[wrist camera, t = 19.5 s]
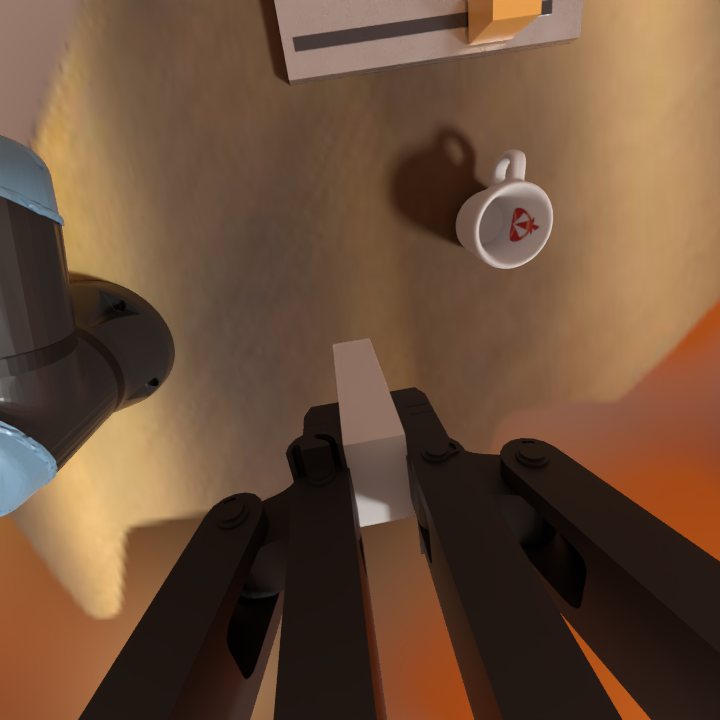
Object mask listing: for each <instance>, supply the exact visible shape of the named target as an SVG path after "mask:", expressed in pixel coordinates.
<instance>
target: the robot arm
mask: <svg viewBox="0 0 720 720" xmlns="http://www.w3.org/2000/svg"><path fill="white" fill-rule="evenodd" d="M63 225H64V220H63V218H62V217H61V216H60V215H59V212H58V208H57V203H56V198H55V193H54V188H53V183H52V178H51V174H50V172H49V169H48V167H47V166H46V164H45V163H44V162H43V160H42V159H41V158H40V157H39V156H38V155H37V154H36V153H34V152H33V151H32V150H31V149H29V148H28V147H26V146H24V145H23V144H21V143H19V142H16V141H14V140H12V139H9V138H7V137H4V136H1V135H0V517H1V516H4V515H6V514H8V513H10V512H11V511H13V510H15V509H16V508H18V507H19V506H20V505H22V504H23V503H24V502H25V501H26V500H27V499H28V498H30V497H31V496H32V495H33V494H34V493H35V492H36V491H37V490H38V489H39V488H41V487H43V486H44V485H46V484H48V483H49V482H51V481H52V480H53V478H54V477H55V476H56V473H57V472H58V471H59V470H60V469H61V468H62V467H63V466H64V465H65V463H66V462H67V461H68V460H69V459H70V458H71V457H72V456H73V455H74V454H75V453H76V452H77V451H78V450H79V449H80V447H81V446H82V445H83V444H84V443H85V442H86V441H87V440H88V439H89V438H90V437H91V436H92V435H93V434H94V432H95V431H96V430H97V429H98V428H99V427H100V426H101V425H102V424H103V423H104V422H105V421H106V420H107V419H108V418H109V417H110V415H111V414H112V413H114V412H117V411H119V410H122V409H124V408H126V407H129V406H131V405H134V404H136V403H139V402H141V401H143V400H145V399H146V398H148V397H149V396H151V395H152V394H153V393H154V392H155V391H156V390H157V389H158V388H159V387H160V386H161V385H162V384H163V382H164V381H165V380H166V379H167V377H168V376H169V374H170V372H171V370H172V367H173V363H174V356H175V350H174V343H173V339H172V336H171V333H170V331H169V328H168V326H167V325H166V323H165V321H164V320H163V318H162V317H161V316H160V314H159V313H158V312H157V311H156V310H155V309H154V308H153V307H152V306H151V305H150V304H149V303H148V302H147V301H145V300H144V299H143V298H141V297H140V296H138V295H137V294H135V293H133V292H132V291H130V290H128V289H126V288H123V287H121V286H118V285H115V284H112V283H108V282H103V281H95V280H82V281H75V282H71V283H70V281H69V274H68V267H67V260H66V253H65V246H64V239H63V232H62V226H63ZM333 351H334V361H335V370H336V380H337V390H338V400H339V402H337V403H332V404H326V405H321V406H315V407H311V408H310V409H309V411H308V412H307V414H306V415H305V417H304V429H303V435H302V436H300V437H299V438H297V439H295V440H294V441H293V442H292V443H291V444H290V445H289V447H288V449H287V452H286V456H287V459H288V463H289V466H290V469H291V473H292V476H293V480H294V483H293V484H292V485H291V486H290V487H288V488H287V489H286V490H285V491H283V492H281V493H279V494H277V495H275V496H273V497H271V498H268V499H266V500H264V501H261V499H260V498H259V497H258V496H256V495H255V494H251V493H239V494H234V495H232V496H229V497H227V498H225V499H223V500H222V501H220V502H219V503H217V504H216V505H215V506H213V507H212V509H211V510H210V511H209V512H208V513H207V515H206V516H205V517H204V519H203V521H202V522H201V524H200V525H199V527H198V529H197V530H196V532H195V533H194V535H193V537H192V538H191V540H190V542H189V543H188V545H187V546H186V548H185V549H184V551H183V553H182V554H181V556H180V557H179V559H178V561H177V562H176V564H175V566H174V567H173V569H172V570H171V572H170V573H169V575H168V577H167V578H166V580H165V582H164V583H163V585H162V586H161V588H160V590H159V591H158V593H157V594H156V596H155V598H154V599H153V601H152V602H151V604H150V606H149V607H148V609H147V610H146V612H145V614H144V615H143V617H142V618H141V620H140V622H139V623H138V625H137V626H136V628H135V630H134V631H133V633H132V634H131V636H130V638H129V639H128V641H127V642H126V644H125V646H124V647H123V649H122V650H121V652H120V654H119V655H118V657H117V658H116V660H115V662H114V663H113V665H112V667H111V668H110V670H109V671H108V673H107V674H106V676H105V678H104V679H103V681H102V682H101V684H100V686H99V687H98V689H97V690H96V692H95V694H94V695H93V697H92V698H91V700H90V702H89V703H88V705H87V706H86V708H85V710H84V711H83V713H82V714H81V716H80V718H79V719H78V720H250V718H251V715H252V712H253V708H254V705H255V702H256V699H257V695H258V692H259V689H260V685H261V682H262V679H263V675H264V672H265V669H266V665H267V662H268V659H269V655H270V652H271V649H272V646H273V642H274V639H275V636H276V633H277V629H278V625H279V623H280V619H281V616H282V626H281V638H280V651H279V661H278V675H277V685H276V697H275V709H274V720H387V715H386V708H385V700H384V693H383V685H382V678H381V671H380V663H379V656H378V648H377V641H376V633H375V626H374V618H373V611H372V604H371V596H370V590H369V581H368V575H367V567H366V560H365V552H364V545H363V540H362V535H361V529H360V527H362V526H367V525H373V524H378V523H383V522H387V521H392V520H398V519H403V518H408V517H413V516H414V510H415V513H416V516H417V521H418V529H419V538H420V547H421V554H425V556H426V559H427V562H428V566H429V569H430V572H431V576H432V579H433V582H434V586H435V589H436V593H437V596H438V599H439V603H440V606H441V609H442V613H443V616H444V619H445V623H446V626H447V629H448V632H449V636H450V639H451V643H452V646H453V649H454V653H455V656H456V659H457V663H458V666H459V670H460V673H461V676H462V679H463V683H464V686H465V690H466V693H467V696H468V700H469V703H470V706H471V710H472V713H473V716H474V720H622V718H621V716H620V715H619V713H618V711H617V710H616V708H615V706H614V705H613V703H612V701H611V699H610V698H609V696H608V694H607V692H606V691H605V689H604V687H603V686H602V684H601V682H600V681H599V679H598V677H597V676H596V674H595V672H594V670H593V668H592V667H591V665H590V663H589V662H588V660H587V658H586V657H585V655H584V653H583V651H582V650H581V648H580V646H579V645H578V643H577V641H576V640H575V638H574V636H573V634H572V633H571V631H570V629H569V627H568V626H567V624H566V622H565V621H564V619H563V617H562V615H563V616H564V618H565V619H566V620H567V621H568V622H569V623H570V625H571V626H572V627H573V628H574V629H575V631H576V632H577V633H578V634H579V635H580V636H581V638H582V639H583V640H584V641H585V642H586V643H587V644H588V646H589V647H590V648H591V649H592V651H593V652H594V653H595V654H596V655H597V656H598V658H599V659H600V660H601V661H602V662H603V664H604V665H605V666H606V667H607V668H608V669H609V671H610V672H611V673H612V674H613V675H614V676H615V678H616V679H617V680H618V681H619V682H620V683H621V685H622V686H623V687H624V688H625V689H626V690H627V692H628V693H629V694H630V695H631V696H632V698H633V699H634V700H635V701H636V702H637V703H638V705H639V706H640V707H641V708H642V709H643V711H644V712H646V714H647V715H648V716H649V718H650V719H651V720H720V561H718V560H717V559H715V558H714V557H713V556H711V555H710V554H708V553H707V552H705V551H704V550H702V549H701V548H700V547H698V546H697V545H695V544H694V543H692V542H691V541H690V540H688V539H687V538H685V537H684V536H682V535H681V534H679V533H678V532H677V531H675V530H674V529H672V528H671V527H669V526H668V525H667V524H665V523H664V522H662V521H661V520H659V519H658V518H656V517H655V516H653V515H652V514H651V513H649V512H648V511H646V510H645V509H643V508H642V507H640V506H639V505H638V504H636V503H635V502H633V501H632V500H631V499H629V498H628V497H626V496H625V495H623V494H622V493H620V492H619V491H618V490H616V489H615V488H613V487H612V486H610V485H609V484H608V483H606V482H605V481H603V480H602V479H600V478H599V477H597V476H596V475H595V474H593V473H592V472H590V471H589V470H587V469H586V468H584V467H583V466H581V465H580V464H579V463H577V462H576V461H574V460H573V459H571V458H570V457H569V456H567V455H566V454H564V453H563V452H561V451H560V450H559V449H557V448H556V447H554V446H552V445H550V444H548V443H546V442H544V441H540V440H536V439H529V438H528V439H527V438H520V439H516V440H511V441H509V442H508V443H506V444H505V445H504V446H503V448H502V450H501V451H500V453H501V454H500V455H492V454H478V453H472V452H468V451H465V449H464V448H463V447H462V446H461V445H460V443H459V442H457V441H455V440H453V439H451V438H449V436H448V435H447V433H446V431H445V429H444V427H443V426H442V424H441V422H440V420H439V418H438V417H437V415H436V413H435V412H434V409H433V408H432V406H431V404H430V402H429V400H428V398H427V397H426V395H425V393H423V392H421V391H420V390H418V389H417V388H415V387H413V388H408V389H402V390H397V391H391V392H389V389H388V387H387V384H386V381H385V379H384V376H383V373H382V371H381V368H380V365H379V363H378V360H377V357H376V355H375V352H374V349H373V346H372V344H371V341H370V338H367V339H361V340H356V341H350V342H344V343H339V344H333ZM282 613H283V614H282ZM560 613H561V614H562V615H561V614H560Z"/></svg>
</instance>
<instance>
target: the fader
mask: <svg viewBox="0 0 720 720" xmlns="http://www.w3.org/2000/svg"><path fill="white" fill-rule="evenodd" d="M541 6H542V0H468V17H469V45H476V44H482V43H489V42H496V41H503V40H509V39H512V38H513V37H514V36H515V35H516V34H518V33H519V32H520V31H521V30H522V29H524V28H525V27H526V26H527V25H528V24H529V23H531V22H532V21H533V20H534V19H535V18H537V17H538V16H539V15H540V14H541Z"/></svg>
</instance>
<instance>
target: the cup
mask: <svg viewBox="0 0 720 720" xmlns="http://www.w3.org/2000/svg"><path fill="white" fill-rule="evenodd" d="M509 163H510V168H509V172H508V174H507V176H506V178H505V172H506V168H507V166H508V164H509ZM525 167H526V158H525V155H524V153H523V152H522V151H520V150H507V151H505V152H503V153H502V154H501V155H500V156H499V157H498V159H497V160H496V162H495V165H494V168H493V172H492V178H491V184H490V186H489V188H488V189H486V190H483V191H481V192H478V193H476V194H475V195H473V196H471V197H470V198H469V199H468V200H467V201H466V202H465V203H464V204H463V206H462V207H461V209H460V210H459V213H458V215H457V219H456V234H457V237H458V239H459V241H460V243H461V244H462V246H463V247H464V248H465V249H467V250H468V251H469V252H471V253H472V254H474V255H475V256H477V257H478V258H480V259H481V260H483V261H484V262H486V263H487V264H489V265H491V266H493V267H496V268H503V269H508V268H514V267H518V266H521V265H523V264H525V263H526V262H528V261H530V260H531V259H532V258H534V257H535V256H536V255H537V254H538V253H539V252H540V250H541V249H542V248H543V246H544V245H545V243H546V241H547V239H548V237H549V235H550V232H551V228H552V223H553V211H552V206H551V203H550V200H549V198H548V196H547V195H546V193H545V192H544V191H543V190H542V189H541V188H540V187H538V186H537V185H535V184H533V183H530V182H526V181H525V180H524V175H525Z"/></svg>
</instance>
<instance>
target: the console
mask: <svg viewBox="0 0 720 720" xmlns="http://www.w3.org/2000/svg"><path fill="white" fill-rule="evenodd" d="M274 2H275V7H276V13H277V18H278V23H279V29H280V34H281V40H282V45H283V50H284V56H285V61H286V66H287V72H288V77H289V82H290V85H296V84H302V83H309V82H316V81H322V80H329V79H336V78H342V77H349V76H356V75H362V74H369V73H376V72H382V71H389V70H396V69H402V68H409V67H416V66H422V65H429V64H436V63H442V62H449V61H456V60H462V59H469V58H476V57H482V56H489V55H496V54H502V53H509V52H516V51H522V50H529V49H536V48H542V47H549V46H556V45H562V44H569V43H571V42H573V41H575V40H576V39H578V38H579V37H580V31H581V20H582V8H583V0H542V6H541V14H540V15H539V16H538V17H537V18H535V19H534V20H533V21H532V22H531V23H529V24H528V25H527V26H526V27H525V28H524V29H522V30H521V31H520V32H519V33H518V34H516V35H515V36H514V37H513V38H512V39H509V40H503V41H496V42H489V43H482V44H476V45H469V17H468V0H274Z"/></svg>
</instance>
